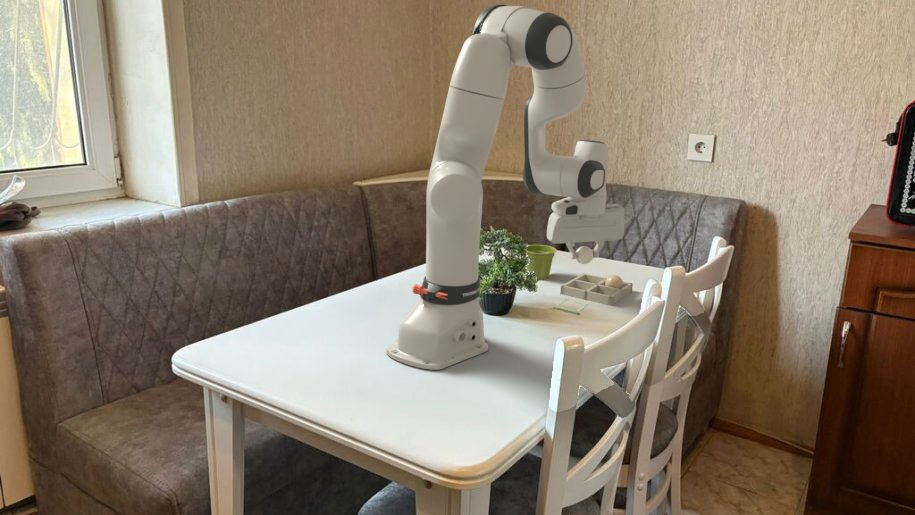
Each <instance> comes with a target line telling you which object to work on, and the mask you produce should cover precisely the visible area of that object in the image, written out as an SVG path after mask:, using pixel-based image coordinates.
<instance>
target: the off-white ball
mask: <svg viewBox="0 0 915 515" xmlns="http://www.w3.org/2000/svg"><path fill="white" fill-rule="evenodd" d="M592 250H593V249H591V247H589V246H586V245H585V246H584V245H583V246H580V247H578V248H576V250H575V251H576V252H578V258H577V259H575V260H576V261H577V263H579V264H581V265H587V264H589V263H591V262H592V261H593V259H594V258H593V251H592Z"/></svg>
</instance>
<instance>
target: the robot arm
mask: <svg viewBox="0 0 915 515" xmlns="http://www.w3.org/2000/svg"><path fill="white" fill-rule="evenodd" d="M471 34H472V35H470V36H469V37H468V38H466V40H465V41H464V43H463V45H462V47H461V48H460V49H461V50H460V51H459V54H458V56H457V60H456V62H455V65H454V68H453V72H452V75H451V77H450V78H451V79H450V82H449V86H448V87H449V88H448V92H447V95H446V100H445V103H444V109H443V114H442V117H441V121H440V126H439V130H438V134H437V139H436V143H435V148H434V152H433V156H432V160H431V164H430V169H429V173H428V176H427V186H426V194H425V197H426V198H425V200H426V203H425V204H426V207H425V208H426V209H425V210H426V213H425V214H426V218H425V221H426V224H425V226H426V227H425V228H426V230H425V231H426V236H425V237H426V239H425V240H426V242H425V244H426V246H425V247H426V248H425V275H424V278H423V282H422V284H421V285H420V284H414V285H413V287H412V290H411V291H412V293H413V294H414V295H419V299H418V300H417V302H416V303H415V304H414V306H413V307H412V308H411V309H410V311H409V313H407V315H406V317H404V319H403V320H402V321H401V323H400V325H399V330H398V335H397V336H398V337H397V339H396V340H395V341H394V342H393V343H392V344H389V346H388V347H387V348H386V349H385V350H386V351H385V353H386V354H387V355H388V357H389V358H391V359H394V360H395V361H397V362H400V363H402V364H405V365H408V366H411V367H415V368H420V369H423V370H424V369H425V370H436V371H437V370H439V371H440V370H442V369H445V368H447V367H450V366H452V365H455V364H457V363H460V362H463V361H465V360H468V359H470V358H473V357H475V356H478V355H481V354H483V353H485V352H488V351H489V344H488V343H487V342H486V341H485V330H484V328H485V327H484V313H483V309H482V307H481V305H480V301H479V297H480V295H481V279H480V277H479V260H480V259H479V258H480V241H481V240H480V239H481V238H480V237H481V231H482V230H481V228H482V217H483V216H482V215H483V200H484V197H483V196H484V188H483V185H482V180H483V176H484V173H485V168H486V166H487V162H488V159H489V156H490V152H491V150H492V146H493V143H494V140H495V138H496V133H497V129H498V126H499V121H500V118H501V115H502V110H503V106H504V101H505V97H506V94H507V89H508V83H509V76H510V73H511V71H512V70H513V68H514V67H515V66H517V67H523V68H530V69H531V74H532V75H531V76H532V82H533V86H534V87H533V94H532V95H531V96H530V97H528V99H527V101H526V103H525V107H524V113H523V137H524V138H523V139H524V140H523V141H524V142H523V143H524V146H523V147H524V160H523V161H524V163H523V169H522V180H523V184H524V185H525V187H526V188H527V189H528V190H529V192H530V193H531V194H532V195H537V196H539V195H540V196H556V197H563V198H562V199H559V200H557V201H554V202H552V203H551V210H552V213H551V214H550V215H549V218H548V221H547V227H546V228H547V229H546V238H547V240H548V241H549V242H550V243H552V244H554V245H556V244H565V245H566V247H567V249H568V252H569V258H570V259H571V260H576V259H577V258H578V252H576V251H577V250H575V249H574V248H573V247H575V244H576V243H587V242H588V243H589V242H591V243H592V242H595V246H594V248H593V249H591V250H592V251H593V259H594V258H599V257H600V251H601V249H602V248H604V246H605V242H606V241H620V240H622V239H623V237H624V235H625V220H624V219H625V214H626V213H625V212H626V210H625V207H624V205H621V204H620V203H607V194H608V193H607V192H608V191H607V181H608V178H609V166H610V164H609V162H610V160H609V157H610V156H609V148H608V145H607V143H605V142H603V141H598V140H591V139H580V140H578V141H577V142H576V145H575V148H574V153H573V155H572V156H565V155H558V154H552V153H550V152H548V151H547V149H546V142H547V140H546V139H547V138H546V135H547V134H546V133H547V132H546V130H547V128H546V127H547V124H548V123H551V122H553V121H557V120H560V119H563V118H566V117H568V116H569V115H571V114H572V113H574V112H575V111H576V110H578V109H579V107H580V106H581V105H582V104H583V102H584V100H585V99H586V98H585V97H586V96H587V95H586V94H587V79H586V77H587V76H586V73H585V72H586V71H585V64H584V60H583V56H582V50H581V47H580V45H579V42H578V41H579V40H578V39H577V35H576V33H575V32H574V30H573V29H572V28H571V26H570V24H569V23H568V21H566V19H564V18H563V17H562V16H561V15H558V14H556V13H552V12H547V11H546V12H545V11H541V10H538V9H534V8H533V9H532V8H531V7H529V6H522V5H521V6H520V5H507V4H495V5H491V6H489V7H486V8H484V10H482V12H481V13H480V14H479V16H477V19H476V22H475V24H474V27H473V32H472V33H471Z"/></svg>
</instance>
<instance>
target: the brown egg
mask: <svg viewBox="0 0 915 515" xmlns="http://www.w3.org/2000/svg"><path fill="white" fill-rule="evenodd" d="M606 278H607V279H606V281H605V286H608V287H613V288H617V289H621V288H622V287H623V282H624V281H623V279H622V277H620V276H619V275H617V274H611V275H609V276H608V277H606Z"/></svg>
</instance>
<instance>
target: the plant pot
mask: <svg viewBox="0 0 915 515" xmlns="http://www.w3.org/2000/svg"><path fill="white" fill-rule="evenodd" d="M526 246H528V247H527V255H528V257H529V258H530V263H529V265H528V267H527V270H528V271H529V272H530V271H534V272H536V276H537V281H536V282H540V281H541V280H547V279H549V278H550V275H551V274H550V273H551V269H552V264H553V259H554V258H555V257H554V256H555V254H556V253H557V248H555V247H554V246H550V245H547V244H545V245H544V244H528V245H526Z"/></svg>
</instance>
